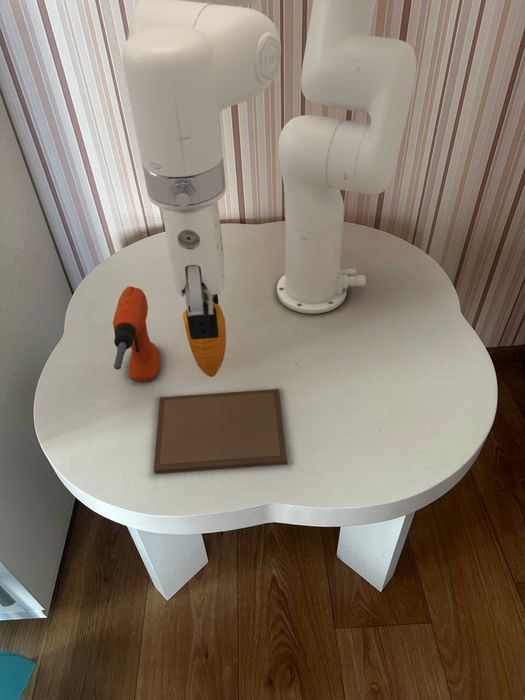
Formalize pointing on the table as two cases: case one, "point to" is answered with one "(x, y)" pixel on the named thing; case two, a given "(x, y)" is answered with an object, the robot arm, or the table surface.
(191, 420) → the mat
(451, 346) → the table surface
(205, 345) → the carrot
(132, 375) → the toy drill
